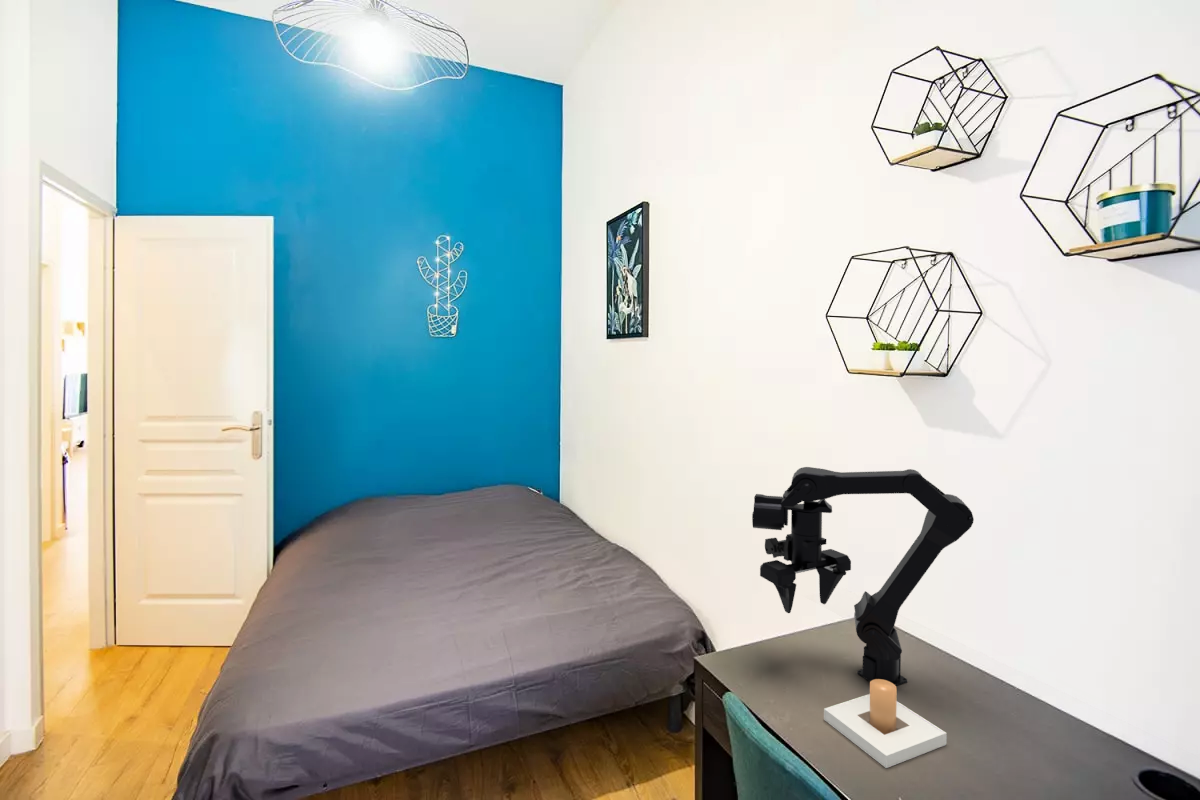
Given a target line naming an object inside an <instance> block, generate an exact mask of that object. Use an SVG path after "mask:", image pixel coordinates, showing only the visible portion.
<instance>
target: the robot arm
mask: <svg viewBox="0 0 1200 800" xmlns="http://www.w3.org/2000/svg"><path fill="white" fill-rule="evenodd" d="M783 492H784V493H783V494H782V496H781V495H780V496H778V495H767V494H766V495H765V494H760V493H756V494H754V502H753V512H752V514H751V515H752V516H751V517H752V519H751V520H752V522H751V523H752V528H753V529H763V530H772V531H773V530H775V531H782V530H783V529H784V528H785V526H786V527H787V526H789V511H790V512H791V515H790V517H791V518H790V524H791V526H790V527H791V530H790V531H791V532H790V534H789V533H788V534H786V536H785V539H782V540H781V539H780V540H778V538H777V537H770V538H766V539H765V540H764V549H765V553H766V555H772V558H773V559H775V558H777V557H778V558H779V557H783V560H785V561H787V562H788V561H789V562H791V563H789V564H787V563H785V562H782V561H780V560H778V559H775V560H771V561H770V560H769V561H766V562H763V563H762V564H760V568H759V576H760V577H761V578H762V579H765V580H766V581H768V582H770V583H771V584H773V586H774V587H775V588H776V590H777V593H778V595H779V599H780V600H781V604H782V607H783V609H784V611H785V613H787V614H791V612H792V608H793V604H794V599H795V595H796V589H797V588H796V587H797V583H796V582H795V580H797V575H796V574H799V573H805V572H810V571H813V570H814V571H815V570H816V572H817V573H818V577H819V579H818V580H819V581H818V584H819V600H820V601H819V602H820V603H821V604H822V605H826V604H827V602H828V601H829V599H830V597H831V596H832V594H833V592H834V590H835V589H836V587H837V586H838V584H839V582H841V580H842V579H843V577H844V576H846V575H847V572H849V571H851V570H852V560H851V559H850V556H848V554H845V553H843V552H839V551H837V550H835V549H832V548H828V549H824V550H823V549H822V546H824V545H827V538H824V537H823V536H822V535H823V533H822V532H823V528H822V527H823V513H824V514H831V513H833V505H831V504H830V503H829V502H827V499H831V498H833V497H836V496H837V497H838V496H841V495H842V496H843V495H872V494H873V495H881V494H882V495H883V494H884V495H885V494H886V495H889V494H894V495H895V494H908V495H911V496H912V497H913V498H914V499H916V500H917V501H918V502H919V503H920V504H921V505H922V506H923V507H924V508H926V510H927V512H926V514H925V517H924V520H923V524H922V527H921V531H920V533H919V534H918V536H917V538H916V539H915V540H914V542H913V543H912V544H911V546H910V548H909V549H908V550H907V551H906V553H905V554H904V556H903V557H902V559H901V560H900V562H898V564H897V566H896V567H895V568H894V570H893V571H892V572H891V574H890V575H889V577H888V578H887V579H886V581H885V583H884V584H883V585H882V586H881V588H880V589H879V590H878V591H877V592H875V593H874V594H870V593H869V592H867V591H864V592H863V593H862V596H861V598H860V600H859V601H858V602H857V603H855V604H854V605H853V606H854V607H853V608H854V615H853V618H854V625H855V632H856V635H857V637H858V639H859V640H860V641H861V642H863V643H864V644H865V646H863V655H862V669H858V670H856V673H857V675H859V676H860V677H862V678H863V679H865V680H867V681H868V682H870V681H872V680H874V679H883V680H887V681H889V682H891V683H893V684H894V685H895V686H896V687H897V686H901V685H903V684H906V683H908V678H906V677H904V676H903V675H901V673H902V672H901V667H902V666H901V664H902V663H901V662H902V657H901V656H902V653H903V650H902V647H901V642H900V639H899V635H898V631H897V629H896V628H895V624H896V622H897V617H898V614H899V611H900V609H901V607H902V606H903V604H904V603H905V601H906V600H907V599H908V597H909V596H910V594H911V593H912V592H913V590H914V589H915V588H916V586H917V585H918V583H920V581H921V580H922V579H923V577H924V575H925V574H926V573H927V571H928V570H929V568H930V567H931V566H932V564H933V563H934V561H936V558H937V557H938V556H939V555H940V553H941V552H942V551H943V550H944V549H945V548H947V547H948V546H950V545H952V544H954V543H955V542H957V541H959V539H960V538H962V536H963V535H965V534H966V533H967V532H968V531H969V530H970V529H971V528H972V526H973V524H974V515H973V512H972V511H971V509H970V508H969V506H967V504H966V503H965V502H964V500H962V499H961V498H960V497H958V496H956V495H954V494H948V493H944V491H942V490H941V489H939V488H938V487H936V485H935V484H933V483H932V482H930V481H929V480H927V479H926V478H925V477H923V475H922V474H921V472H919V471H918V470H915V469H912V468H911V469H910V468H909V469H905V470H885V471H884V470H883V471H851V472H850V471H849V472H848V471H847V472H845V471H844V472H842V471H841V472H840V471H833V470H830V469H829V470H828V469H826V468H821V467H820V468H818V467H811V466H804V467H800V468H798V469H797V470H796V471H794V473H793V476H792V478H791V485H789V486H788V487H787V489H786V490H784V491H783ZM802 502H803V503H802Z"/></svg>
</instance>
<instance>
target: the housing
mask: <svg viewBox="0 0 1200 800" xmlns="http://www.w3.org/2000/svg"><path fill="white" fill-rule="evenodd" d="M823 720H824V721H825V722H826V723H828V724H829V726H831V727H833V728H834V729H835V730H836V731H838V732H839V733H841V734H842V735H843V736H845V738H847V739H848V740H849V741H850V742H852V743H853V744H854V745H856V746H857V747H858V748H860V749H861V750H862V751H863V752H865V753H866V754H867V755H869V756H870V757H871V758H873V759H874V760H875V761H876V762H877V763H879V764H880V765H882V766H883V767H884V768H885V769H888V768H890V767H893V766H895V765H898V764H901V763H903V762H905V761H906V762H907V761H909V760H911V759H914V758H916V757H919V756H922V755H924V754H926V753H929V752H931V751H932V752H933V751H934V750H936V749H939V748H942V747H945V746H947V737H948V736H947V734H948V733H947V732H946V731H944V730H942V729H941V728H939V727H938V726H936V725H935V724H933V723H932V722H930V721H929V720H927V719H925V718H924V717H923V716H921V715H920V714H918V713H916V712H914V710H911V709H910V708H909V707H907V706H905V705H904V704H902V703H900V702H899V701H897V702H896V731H894V732H891V733H888V734H885V735H884V734H883V733H881V732H880V731H878V730H877V729H876V728H874V727H873V726H871V725H870V693H869V694H865V695H862V696H859V697H856V698H853V699H850V700H846V701H844V702H841V703H837V704H834V705H831V706H827V707H824V708H823Z"/></svg>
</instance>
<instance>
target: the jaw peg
mask: <svg viewBox="0 0 1200 800" xmlns="http://www.w3.org/2000/svg"><path fill="white" fill-rule="evenodd" d="M897 689H898V688H897V686H895V685H894V684H893V683H891V682H889V681H887V680H883V679H874V680H872V681H869V694H870V722H869V724H870V725H871V726H873V727H874V728H876V729H877V730H878V731H880V732H881V733H883V734H884V735H885V734H888V733H891V732H894V731H896V730H897V728H896V702H898V700H897V697H898V695H897Z"/></svg>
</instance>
